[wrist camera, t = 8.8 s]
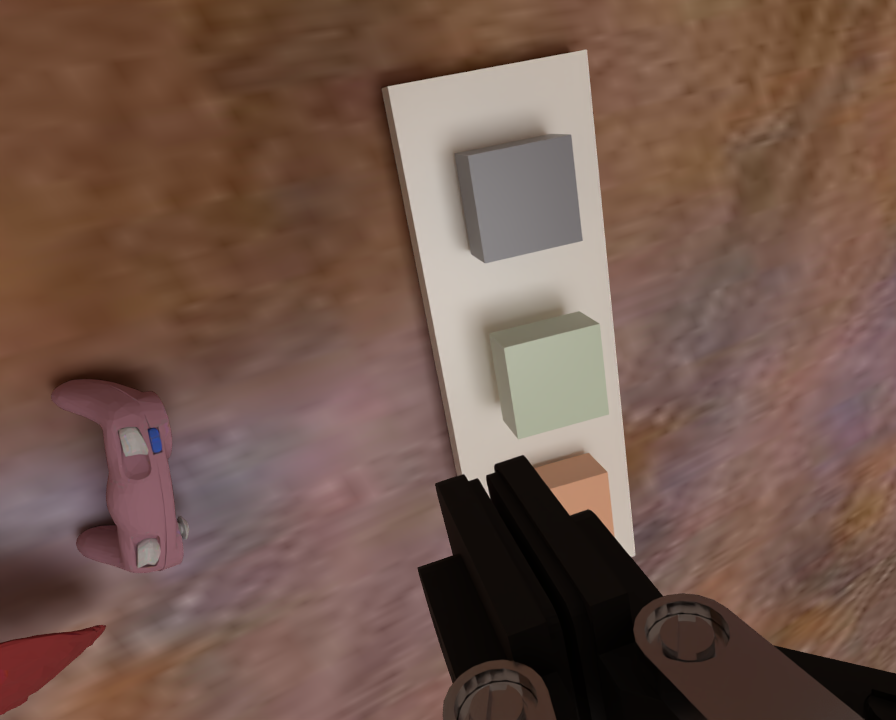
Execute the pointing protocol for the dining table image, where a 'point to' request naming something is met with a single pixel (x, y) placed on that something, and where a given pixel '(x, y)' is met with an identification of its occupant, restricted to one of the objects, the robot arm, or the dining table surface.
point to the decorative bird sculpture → (38, 662)
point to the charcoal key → (519, 196)
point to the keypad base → (508, 280)
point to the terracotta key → (580, 486)
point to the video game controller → (130, 476)
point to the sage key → (550, 373)
